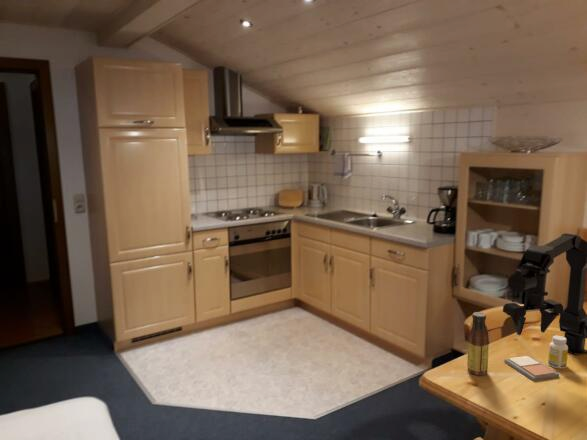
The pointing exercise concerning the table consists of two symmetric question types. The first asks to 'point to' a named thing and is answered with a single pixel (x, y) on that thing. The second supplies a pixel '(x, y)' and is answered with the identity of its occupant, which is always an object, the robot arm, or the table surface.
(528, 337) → the table surface
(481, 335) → the sauce bottle
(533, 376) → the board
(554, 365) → the supplement bottle
